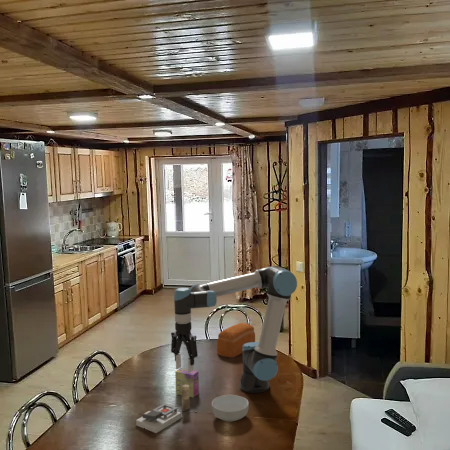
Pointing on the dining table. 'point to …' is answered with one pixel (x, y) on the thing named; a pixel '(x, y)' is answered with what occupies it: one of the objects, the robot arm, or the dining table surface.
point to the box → (187, 381)
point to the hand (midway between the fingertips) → (184, 369)
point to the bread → (234, 339)
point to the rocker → (152, 415)
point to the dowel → (185, 397)
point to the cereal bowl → (230, 407)
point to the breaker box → (160, 419)
